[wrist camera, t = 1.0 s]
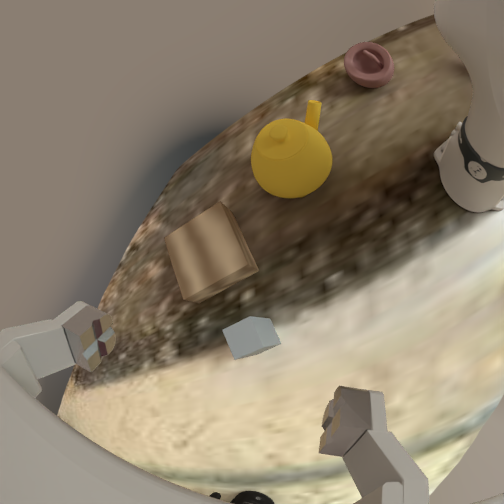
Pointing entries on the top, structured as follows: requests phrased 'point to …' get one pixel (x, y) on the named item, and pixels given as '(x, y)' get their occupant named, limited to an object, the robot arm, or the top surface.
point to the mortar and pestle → (369, 65)
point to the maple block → (209, 254)
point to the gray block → (251, 337)
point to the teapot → (292, 156)
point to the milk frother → (247, 498)
